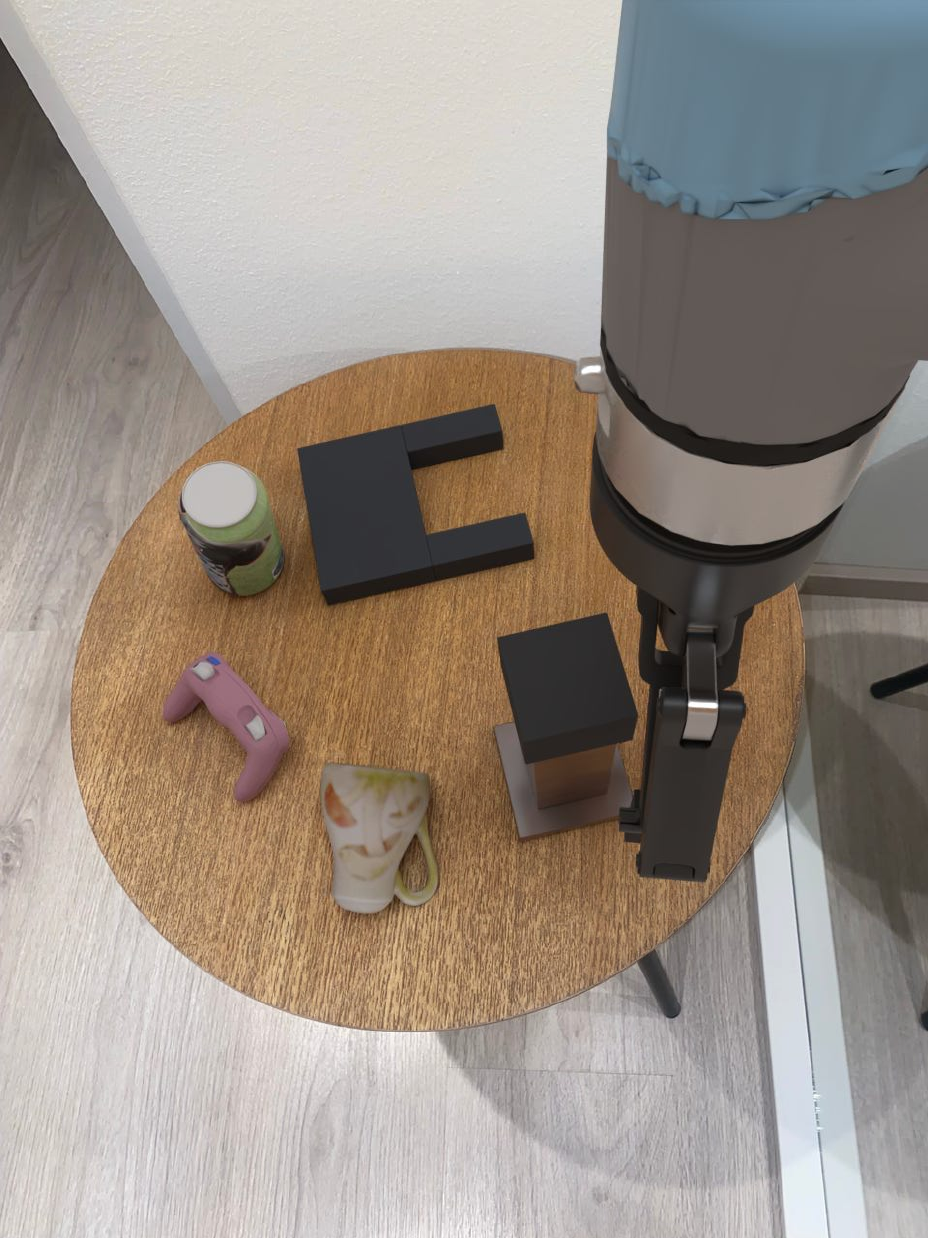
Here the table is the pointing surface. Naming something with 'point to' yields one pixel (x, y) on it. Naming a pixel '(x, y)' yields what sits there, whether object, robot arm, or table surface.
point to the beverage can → (231, 527)
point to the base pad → (400, 508)
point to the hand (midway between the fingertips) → (656, 696)
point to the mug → (375, 833)
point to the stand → (562, 787)
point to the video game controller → (232, 718)
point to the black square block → (567, 688)
